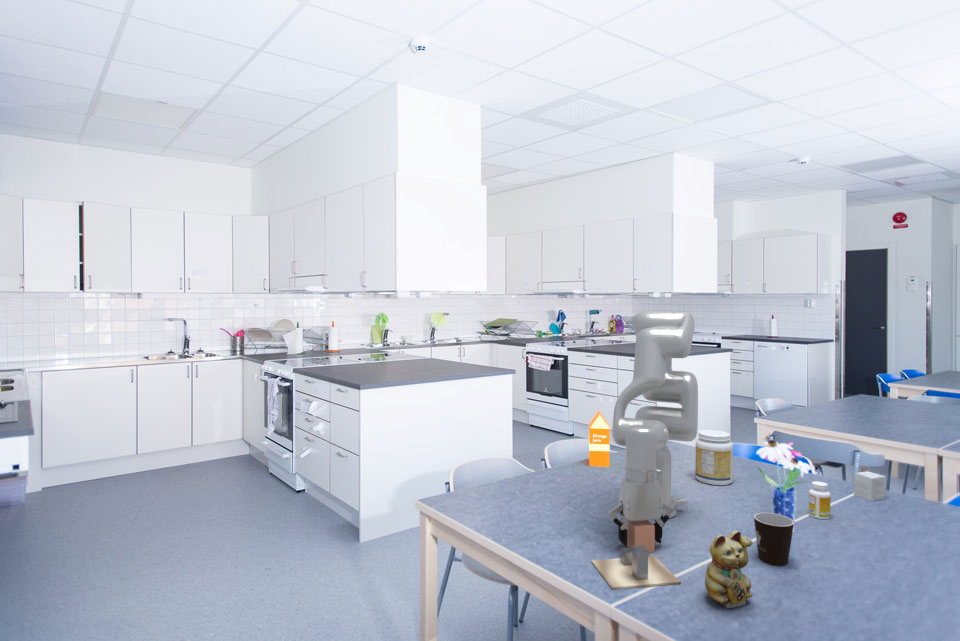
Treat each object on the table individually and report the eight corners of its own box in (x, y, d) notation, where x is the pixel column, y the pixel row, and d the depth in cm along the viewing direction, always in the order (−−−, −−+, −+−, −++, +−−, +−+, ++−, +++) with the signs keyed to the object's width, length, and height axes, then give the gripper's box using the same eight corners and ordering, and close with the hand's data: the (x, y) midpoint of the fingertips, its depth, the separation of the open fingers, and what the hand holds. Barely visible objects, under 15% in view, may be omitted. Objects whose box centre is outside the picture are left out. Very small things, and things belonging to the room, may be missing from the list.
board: (653, 557, 137) (653, 555, 137) (680, 583, 124) (680, 581, 124) (591, 562, 135) (591, 560, 135) (612, 589, 122) (612, 587, 122)
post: (642, 573, 128) (643, 545, 128) (648, 579, 125) (648, 550, 125) (632, 574, 128) (632, 546, 127) (637, 580, 125) (637, 551, 125)
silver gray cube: (630, 559, 135) (630, 547, 135) (634, 564, 132) (634, 552, 132) (619, 560, 135) (619, 548, 134) (624, 565, 132) (624, 553, 132)
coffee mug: (792, 571, 130) (792, 529, 130) (751, 562, 134) (751, 521, 134) (794, 552, 140) (795, 513, 139) (756, 544, 144) (757, 506, 144)
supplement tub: (700, 473, 205) (700, 427, 204) (736, 479, 198) (736, 432, 197) (691, 482, 195) (691, 433, 194) (728, 488, 188) (729, 438, 187)
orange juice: (589, 466, 214) (589, 414, 214) (588, 459, 223) (588, 409, 223) (610, 466, 213) (610, 414, 213) (608, 460, 222) (608, 410, 221)
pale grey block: (867, 492, 184) (867, 470, 183) (885, 499, 178) (886, 476, 178) (853, 495, 182) (853, 472, 181) (871, 501, 176) (872, 478, 176)
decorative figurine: (724, 614, 112) (724, 540, 112) (693, 594, 120) (693, 525, 119) (758, 604, 116) (759, 532, 116) (726, 585, 124) (727, 518, 123)
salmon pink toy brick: (645, 543, 145) (645, 518, 145) (654, 552, 140) (654, 526, 140) (626, 544, 145) (626, 519, 144) (635, 553, 140) (635, 527, 139)
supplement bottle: (832, 516, 164) (832, 483, 163) (827, 521, 160) (828, 487, 159) (811, 511, 167) (811, 479, 167) (806, 516, 163) (807, 483, 163)
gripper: (665, 468, 147) (665, 534, 147) (602, 471, 144) (602, 538, 145) (680, 477, 139) (679, 546, 140) (613, 480, 137) (613, 550, 137)
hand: (640, 541), depth 142 cm, fingers open, 8 cm apart
